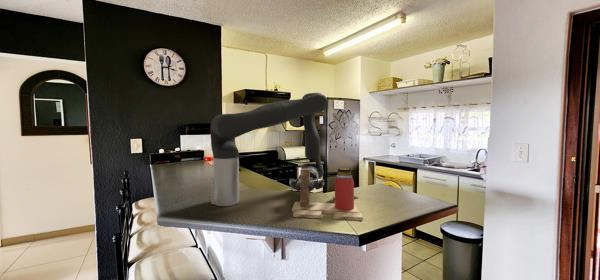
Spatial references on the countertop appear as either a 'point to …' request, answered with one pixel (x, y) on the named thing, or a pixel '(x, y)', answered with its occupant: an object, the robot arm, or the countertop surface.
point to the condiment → (345, 173)
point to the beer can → (344, 192)
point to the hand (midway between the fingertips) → (304, 188)
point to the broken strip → (336, 215)
